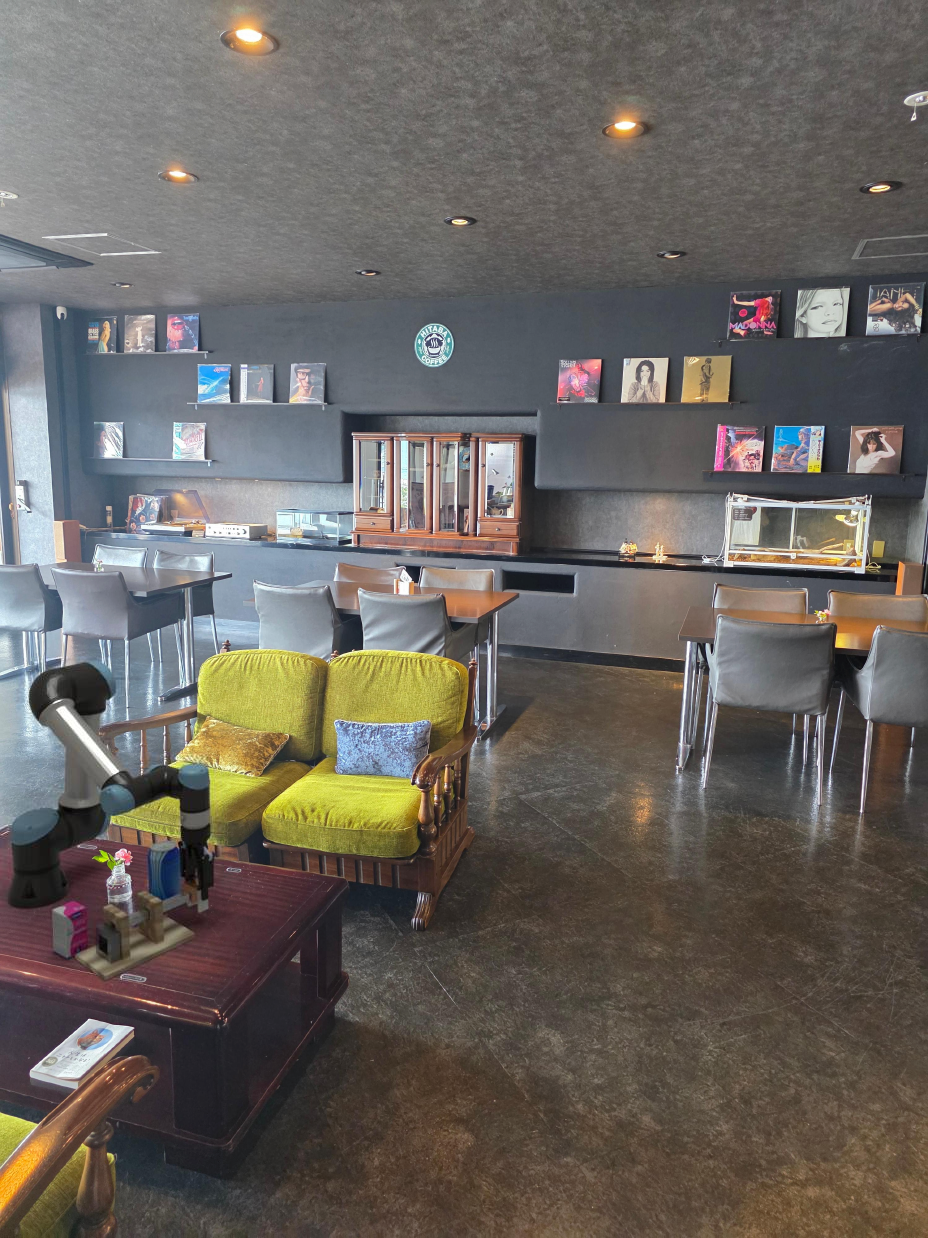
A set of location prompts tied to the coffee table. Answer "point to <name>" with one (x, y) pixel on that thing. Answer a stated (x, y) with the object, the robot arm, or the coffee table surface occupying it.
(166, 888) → the beer can
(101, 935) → the spacer
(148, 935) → the bearing stand
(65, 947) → the supplement box
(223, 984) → the coffee table surface
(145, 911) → the shaft
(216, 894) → the coffee table surface
